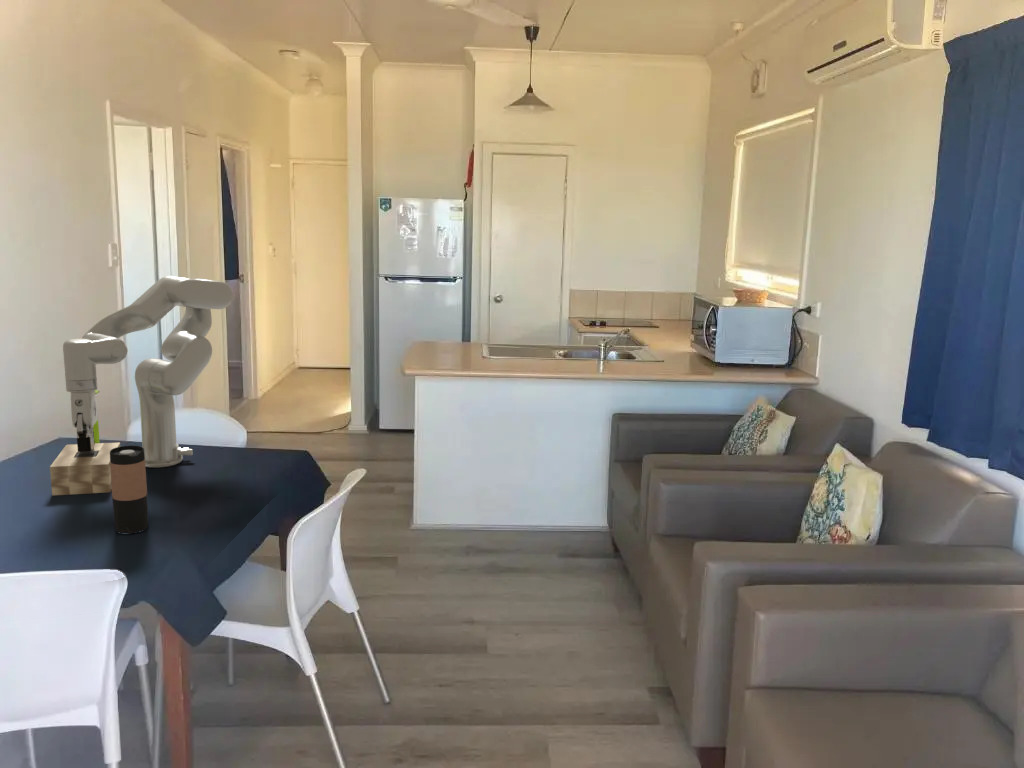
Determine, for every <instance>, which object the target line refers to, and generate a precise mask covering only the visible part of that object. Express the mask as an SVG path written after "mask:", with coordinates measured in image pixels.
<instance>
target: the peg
mask: <svg viewBox="0 0 1024 768" xmlns="http://www.w3.org/2000/svg"><path fill="white" fill-rule="evenodd" d="M83 430H85V431H86V429H83ZM89 437H90V441H91V451H88V452H78V454H79V455H91V454H94V453H95V452H94V437H93V428H92V427H89Z"/></svg>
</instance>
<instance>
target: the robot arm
mask: <svg viewBox="0 0 1024 768" xmlns="http://www.w3.org/2000/svg"><path fill="white" fill-rule="evenodd" d="M233 298H234V293H233V289H232V288H231V286H230V285H229V284H227V282H224V281H221V280H213V279H206V278H188V277H182V276H175V275H165V276H163V277H161V278H159V279H158V280H157V281H155V283H154V284H152V285H151V286H150V287H149V288H147V289H146V290H145V292H143V293H142V294H141V295H140V296H139V297H138V298H136V300H134V301H133V302H132V303H131V304H129V305H128V306H126V307H123V308H121V309H119V310H117V311H116V312H113V313H111V314H108V315H107V316H105V317H104V318H102V319H101V320H98V321H97V323H95V324H94V325H93V326H92V327H91V328H90V329H89V330H87V331H86V332H85V333H84V335H83V336H82V337H81V338H71V339H67V340H65V341H64V342H63V345H62V353H63V354H62V355H63V364H64V366H63V367H64V379H65V390H66V392H69V393H70V408H71V409H70V412H71V422H72V426H73V428H76V444H77V447H78V452H88V451H91V441H90V437H89V427H92V428H93V426H94V424H95V423H96V421H97V420H98V421H99V413H98V404H97V396H96V394H95V390H97V391H98V380H97V366H96V365H113V364H118V363H120V362H122V361H123V360H125V358H126V357H127V355H128V345H127V344H126V343H125V341H123V340H122V339H120V338H121V337H123V336H125V335H128V334H131V333H136V332H139V331H140V332H141V331H144V330H148V329H151V328H153V327H154V326H156V325H157V324H158V323H159V322H160V321H161V320H162V319H163V318H164V317H166V315H167V314H168V313H169V312H171V311H172V310H173V309H175V307H183V308H185V312H184V315H183V316H182V318H181V320H180V321H179V322H178V324H177V325H176V326H175V327H174V328H173V329H172V330H171V331H170V333H169V334H168V335H167V336H166V337H165V339H164V341H163V342H162V344H161V346H160V347H161V348H160V350H161V351H160V352H161V354H162V356H163V357H164V358H165V359H166V360H165V359H160V358H151V357H150V358H147V359H143V360H142V361H141V362H139V363H138V365H137V366H136V369H135V371H134V380H135V386H136V388H137V389H136V390H137V393H138V398H139V407H140V408H139V409H140V411H139V412H140V413H139V414H140V428H141V430H140V431H141V441H142V443H141V444H142V445H141V447H143V448H144V454H145V468H166V467H167V468H168V467H171V466H175V465H177V464H180V463H182V461H183V460H184V459H183V458H184V457H183V456H193V453H194V452H193V449H192V448H189V447H183V448H181V446H179V443H177V425H176V405H175V399H174V396H175V397H176V396H180V395H183V394H184V393H185V392H186V391H187V390H189V388H190V387H191V386H192V385H193V384H194V382H195V381H196V379H198V377H199V376H201V375H200V374H201V373H202V372H203V371H204V370H205V368H206V367H207V366H208V364H209V362H210V360H211V358H212V355H213V346H212V344H211V342H210V341H209V339H207V338H206V336H207V335H208V333H209V332H210V330H211V327H212V324H213V323H212V321H213V317H212V311H211V310H223V309H226V308H227V307H229V306H230V305H231V303H232V301H233ZM83 429H86V431H85V430H83ZM93 437H94V432H93ZM94 445H95V442H94Z"/></svg>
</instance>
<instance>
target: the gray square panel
mask: <svg viewBox="0 0 1024 768" xmlns="http://www.w3.org/2000/svg"><path fill="white" fill-rule="evenodd" d="M94 452H95V453H94V454H91V455H79V454H78V453H77V455H76V456H75V458H77V457H96V456H97V454H98V451H94Z"/></svg>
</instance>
